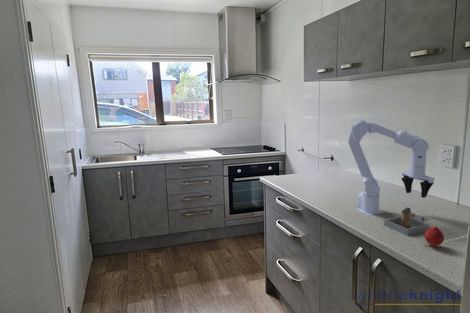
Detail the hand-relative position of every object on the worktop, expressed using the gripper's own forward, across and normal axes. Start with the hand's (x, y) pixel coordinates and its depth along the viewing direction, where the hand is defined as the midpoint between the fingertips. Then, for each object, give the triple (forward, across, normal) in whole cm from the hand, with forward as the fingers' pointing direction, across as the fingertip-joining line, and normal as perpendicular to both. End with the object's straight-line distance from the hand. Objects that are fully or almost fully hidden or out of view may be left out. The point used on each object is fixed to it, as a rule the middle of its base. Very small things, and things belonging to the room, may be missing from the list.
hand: (416, 194), depth 138 cm
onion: (+10, -24, +20) cm, 33 cm away
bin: (+10, -9, +16) cm, 21 cm away
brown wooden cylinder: (+9, -9, +16) cm, 20 cm away
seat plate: (+10, -3, +4) cm, 11 cm away
